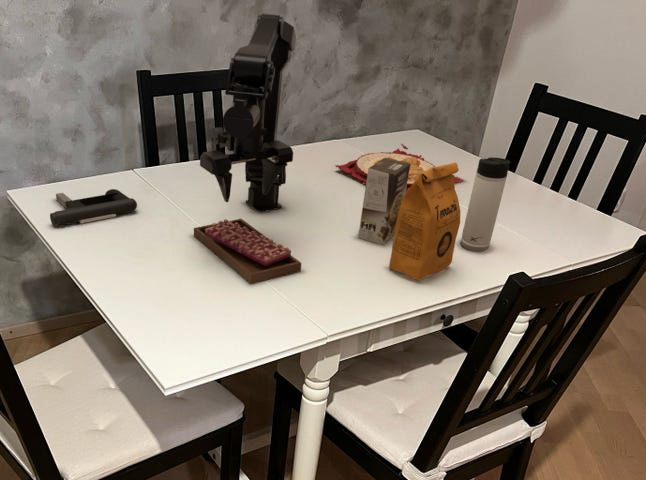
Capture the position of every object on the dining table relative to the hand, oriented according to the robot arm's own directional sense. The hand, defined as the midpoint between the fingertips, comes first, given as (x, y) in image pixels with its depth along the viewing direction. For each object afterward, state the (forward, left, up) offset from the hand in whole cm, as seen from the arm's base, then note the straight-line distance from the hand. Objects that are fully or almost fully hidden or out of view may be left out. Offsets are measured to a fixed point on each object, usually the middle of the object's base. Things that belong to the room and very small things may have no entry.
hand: (245, 197), depth 153 cm
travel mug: (-47, +22, -11) cm, 53 cm away
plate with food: (-60, -19, -11) cm, 63 cm away
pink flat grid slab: (+1, +3, -9) cm, 10 cm away
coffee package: (-28, +25, -11) cm, 39 cm away
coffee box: (-31, +8, -11) cm, 34 cm away
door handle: (+23, -32, -11) cm, 41 cm away
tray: (+1, +3, -11) cm, 11 cm away
